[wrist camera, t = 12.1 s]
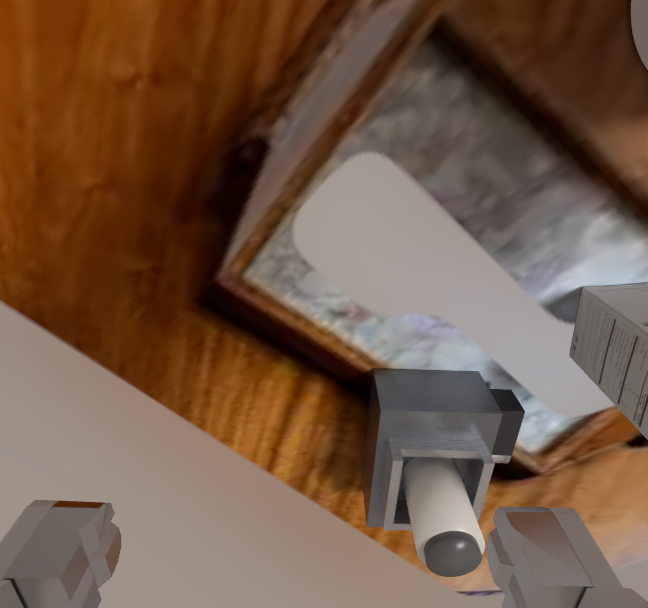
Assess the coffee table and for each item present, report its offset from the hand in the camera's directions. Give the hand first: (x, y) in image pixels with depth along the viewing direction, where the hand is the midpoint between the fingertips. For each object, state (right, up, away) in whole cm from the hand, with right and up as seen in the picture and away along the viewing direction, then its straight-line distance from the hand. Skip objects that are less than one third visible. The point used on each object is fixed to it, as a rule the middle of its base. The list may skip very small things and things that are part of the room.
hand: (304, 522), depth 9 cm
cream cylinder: (+10, -10, +29) cm, 32 cm away
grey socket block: (+11, -8, +34) cm, 37 cm away
